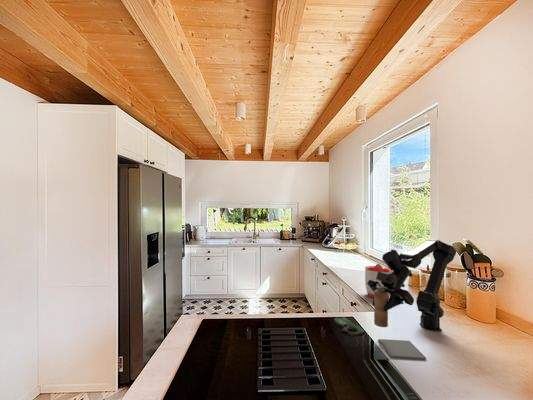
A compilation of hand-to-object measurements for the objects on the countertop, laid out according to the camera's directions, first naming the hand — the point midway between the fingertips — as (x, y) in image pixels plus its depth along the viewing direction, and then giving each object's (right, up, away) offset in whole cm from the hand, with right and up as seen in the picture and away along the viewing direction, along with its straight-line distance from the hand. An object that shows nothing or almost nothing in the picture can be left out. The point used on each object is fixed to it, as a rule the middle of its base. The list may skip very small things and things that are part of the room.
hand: (378, 308), depth 104 cm
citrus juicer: (+24, -16, +56) cm, 63 cm away
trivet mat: (+5, -13, -7) cm, 15 cm away
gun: (-9, -14, +12) cm, 20 cm away
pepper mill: (+1, -7, 0) cm, 7 cm away
